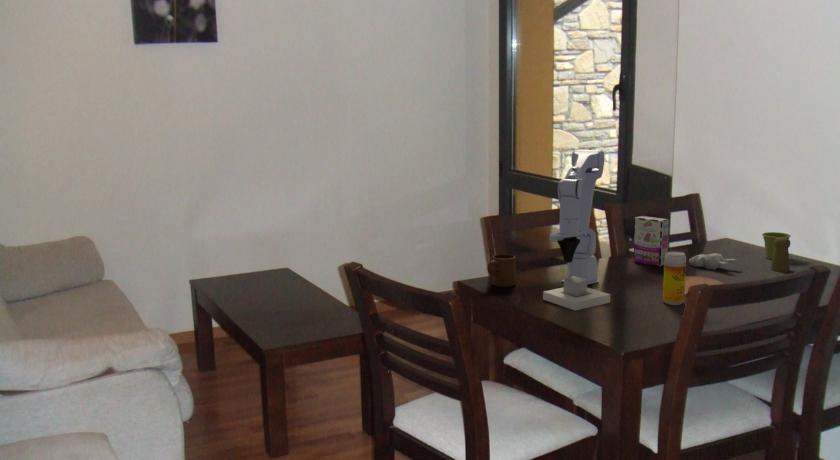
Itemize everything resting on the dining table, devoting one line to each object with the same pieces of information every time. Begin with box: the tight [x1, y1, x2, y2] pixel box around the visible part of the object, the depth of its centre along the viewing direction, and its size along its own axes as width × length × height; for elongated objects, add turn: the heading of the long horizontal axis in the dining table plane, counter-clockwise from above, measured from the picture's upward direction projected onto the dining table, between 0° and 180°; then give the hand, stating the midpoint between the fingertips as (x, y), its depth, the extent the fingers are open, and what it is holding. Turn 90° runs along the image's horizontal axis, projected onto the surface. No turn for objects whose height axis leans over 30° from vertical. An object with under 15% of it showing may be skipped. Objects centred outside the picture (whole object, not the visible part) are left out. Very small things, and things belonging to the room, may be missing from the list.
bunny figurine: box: [688, 252, 738, 271], centre depth 284 cm, size 10×5×15 cm
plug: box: [563, 276, 588, 297], centre depth 248 cm, size 5×5×6 cm
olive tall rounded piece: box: [770, 238, 791, 273], centre depth 279 cm, size 6×6×11 cm
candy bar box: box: [633, 215, 670, 268], centre depth 290 cm, size 11×5×16 cm, turn 42°
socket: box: [542, 286, 611, 311], centre depth 248 cm, size 14×14×3 cm
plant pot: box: [761, 231, 792, 260], centre depth 295 cm, size 9×9×9 cm
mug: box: [486, 253, 517, 288], centre depth 266 cm, size 12×8×9 cm, turn 137°
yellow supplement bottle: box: [662, 251, 687, 306], centre depth 244 cm, size 6×6×15 cm
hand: (568, 261), depth 253 cm, fingers closed
